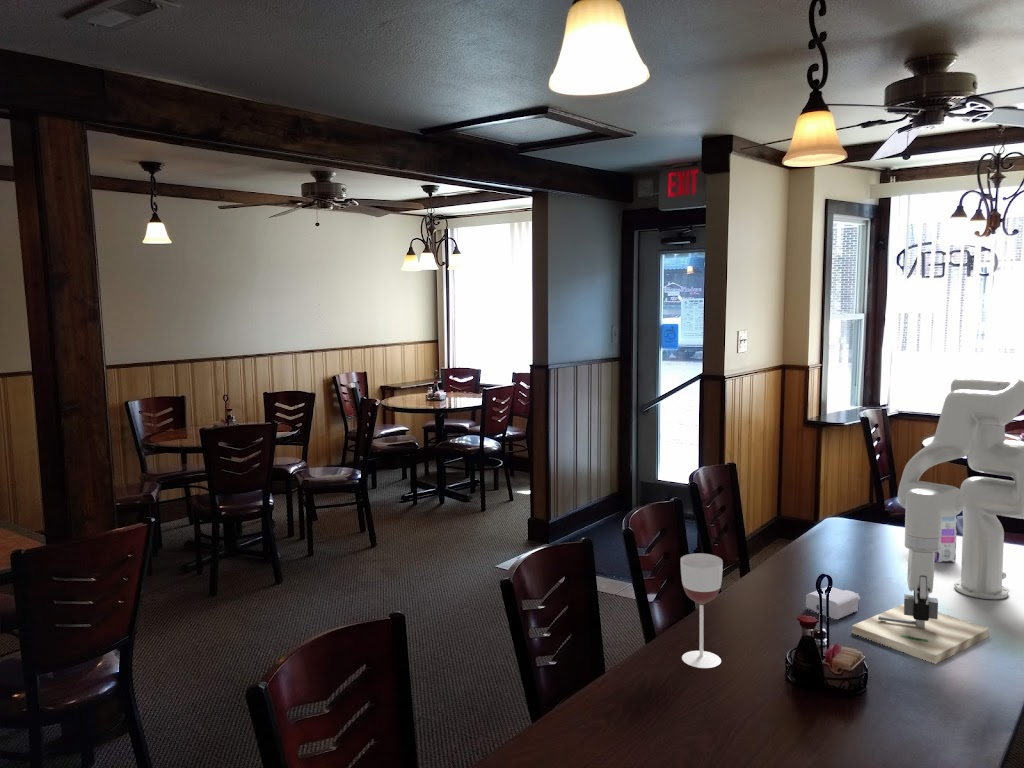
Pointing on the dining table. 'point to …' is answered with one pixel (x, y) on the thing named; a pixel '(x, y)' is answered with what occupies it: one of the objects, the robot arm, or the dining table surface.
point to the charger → (834, 602)
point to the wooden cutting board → (922, 634)
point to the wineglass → (701, 598)
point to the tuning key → (908, 610)
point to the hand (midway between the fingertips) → (920, 615)
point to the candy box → (947, 540)
